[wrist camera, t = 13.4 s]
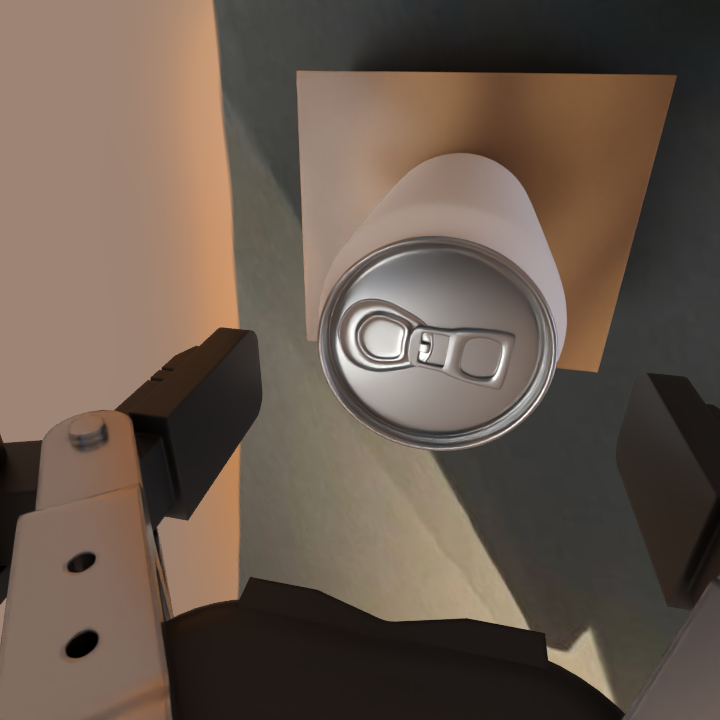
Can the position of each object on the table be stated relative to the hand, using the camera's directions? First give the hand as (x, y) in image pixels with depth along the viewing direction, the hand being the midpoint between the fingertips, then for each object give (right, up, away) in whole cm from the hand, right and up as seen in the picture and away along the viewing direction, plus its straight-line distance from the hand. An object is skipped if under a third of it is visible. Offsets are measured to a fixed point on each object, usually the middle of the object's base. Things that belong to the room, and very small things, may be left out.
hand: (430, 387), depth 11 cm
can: (+3, +6, +12) cm, 13 cm away
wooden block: (+4, +10, +18) cm, 21 cm away
